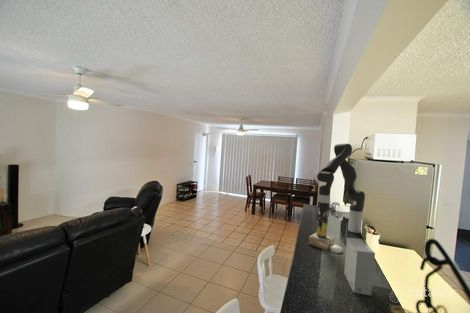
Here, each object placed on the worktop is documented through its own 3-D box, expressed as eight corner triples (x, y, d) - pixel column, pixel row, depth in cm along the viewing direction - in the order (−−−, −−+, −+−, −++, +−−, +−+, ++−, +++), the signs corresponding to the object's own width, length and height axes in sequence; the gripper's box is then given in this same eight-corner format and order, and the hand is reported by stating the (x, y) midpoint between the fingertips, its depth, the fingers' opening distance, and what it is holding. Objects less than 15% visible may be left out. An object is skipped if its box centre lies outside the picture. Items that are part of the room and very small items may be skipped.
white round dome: (332, 246, 142) (332, 243, 142) (343, 250, 138) (343, 247, 137) (328, 250, 138) (328, 246, 137) (339, 254, 133) (339, 250, 132)
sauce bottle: (315, 234, 148) (317, 206, 147) (323, 234, 148) (325, 206, 147) (319, 238, 141) (321, 209, 140) (328, 238, 142) (330, 209, 141)
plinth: (316, 238, 154) (316, 231, 153) (333, 244, 145) (334, 236, 145) (308, 243, 145) (309, 235, 145) (326, 250, 137) (326, 242, 137)
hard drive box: (372, 296, 95) (375, 253, 94) (353, 293, 97) (356, 251, 96) (359, 275, 110) (362, 238, 109) (343, 273, 112) (346, 236, 111)
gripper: (322, 198, 151) (321, 221, 152) (313, 201, 141) (312, 225, 142) (333, 200, 146) (332, 224, 147) (325, 204, 136) (323, 229, 137)
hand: (322, 224), depth 145 cm, fingers open, 7 cm apart
